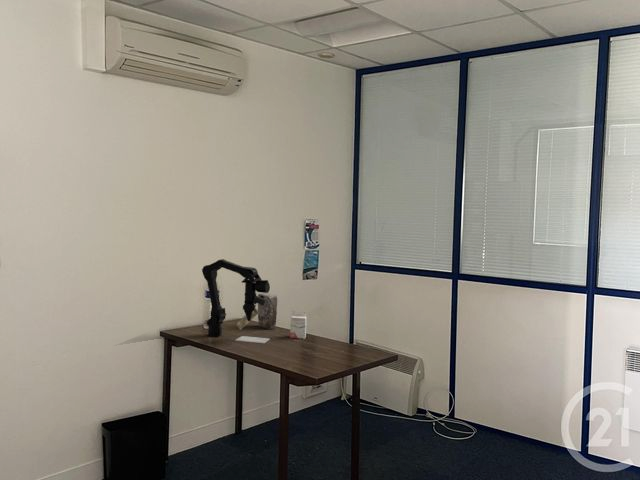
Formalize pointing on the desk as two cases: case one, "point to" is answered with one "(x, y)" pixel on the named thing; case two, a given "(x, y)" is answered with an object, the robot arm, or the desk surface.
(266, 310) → the stone block
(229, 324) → the desk surface
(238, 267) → the robot arm
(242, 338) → the grey board
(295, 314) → the ink cartridge box
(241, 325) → the birch block
